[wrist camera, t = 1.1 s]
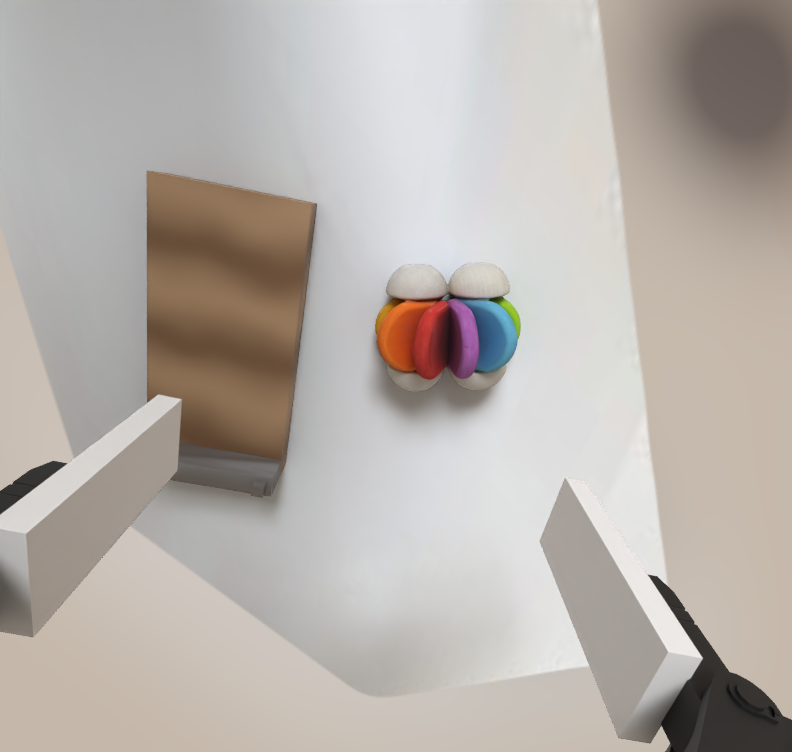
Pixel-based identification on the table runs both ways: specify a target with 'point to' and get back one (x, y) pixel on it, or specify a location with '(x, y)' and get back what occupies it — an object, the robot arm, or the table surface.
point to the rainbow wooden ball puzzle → (447, 326)
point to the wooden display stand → (226, 324)
